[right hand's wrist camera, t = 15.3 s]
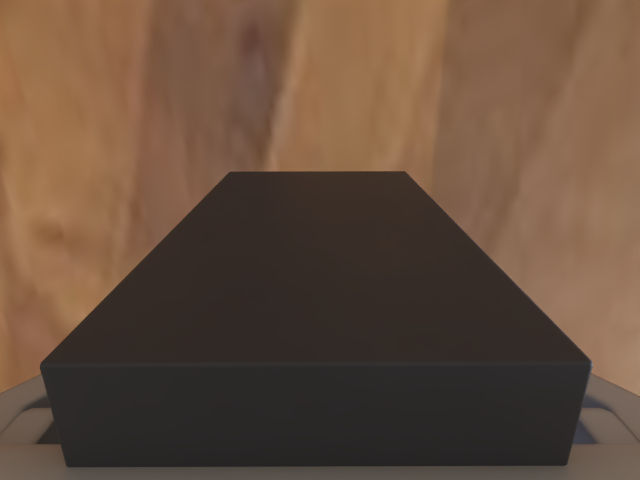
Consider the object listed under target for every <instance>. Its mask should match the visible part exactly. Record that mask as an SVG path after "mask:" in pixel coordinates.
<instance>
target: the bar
mask: <svg viewBox="0 0 640 480" xmlns="http://www.w3.org/2000/svg"><path fill="white" fill-rule="evenodd" d="M592 367H593V365H592V361H591V360H590V359H589V358H588V357H587V356H586V355H585V354H584V353H583V352H582V351H581V350H580V349H579V348H578V347H577V346H576V345H575V343H574V342H573V341H572V340H571V339H570V338H569V337H568V336H567V335H566V334H565V333H564V332H563V331H562V330H561V329H560V328H559V327H558V326H557V325H556V324H555V323H554V322H553V321H552V320H551V319H550V318H549V317H548V316H547V315H546V314H545V313H544V312H543V311H542V310H541V309H540V308H539V307H538V306H537V305H536V304H535V303H534V302H533V301H532V300H531V299H530V298H529V297H528V296H527V295H526V294H525V293H524V292H523V291H522V290H521V289H520V288H519V287H518V286H517V285H516V284H515V283H514V282H513V281H512V279H511V278H510V277H509V276H508V275H507V274H506V273H505V272H504V271H503V270H502V269H501V268H500V267H499V266H498V265H497V264H496V263H495V262H494V261H493V260H492V259H491V258H490V257H489V256H488V255H487V254H486V253H485V252H484V251H483V250H482V249H481V248H480V247H479V246H478V245H477V244H476V243H475V242H474V241H473V240H472V239H471V238H470V237H469V236H468V235H467V234H466V233H465V232H464V231H463V230H462V229H461V228H460V227H459V226H458V225H457V224H456V223H455V222H454V221H453V220H452V219H451V218H450V217H449V215H448V214H447V213H446V212H445V211H444V210H443V209H442V208H441V207H440V206H439V205H438V204H437V203H436V202H435V201H434V200H433V199H432V198H431V197H430V196H429V195H428V194H427V193H426V192H425V191H424V190H423V189H422V188H421V187H420V186H419V185H418V184H417V183H416V182H415V181H414V180H413V179H412V178H411V177H410V176H409V175H408V174H407V173H406V172H405V171H383V172H229V173H228V174H227V175H226V176H225V177H224V178H223V179H222V180H221V181H220V182H219V183H218V184H217V185H216V186H215V187H214V188H213V189H212V190H211V191H210V192H209V193H208V194H207V195H206V196H205V197H204V199H203V200H202V201H201V202H200V203H199V204H198V205H197V206H196V207H195V208H194V209H193V210H192V211H191V212H190V213H189V214H188V215H187V216H186V217H185V218H184V219H183V220H182V221H181V222H180V223H179V224H178V225H177V226H176V227H175V228H174V229H173V230H172V231H171V232H170V233H169V234H168V235H167V236H166V237H165V238H164V239H163V240H162V241H161V242H160V243H159V244H158V245H157V246H156V247H155V248H154V249H153V250H152V251H151V252H150V253H149V254H148V255H147V256H146V257H145V258H144V259H143V260H142V261H141V262H140V263H139V264H138V265H137V266H136V267H135V268H134V269H133V270H132V271H131V272H130V273H129V274H128V275H127V276H126V277H125V278H124V279H123V280H122V281H121V282H120V283H119V284H118V285H117V287H116V288H115V289H114V290H113V291H112V292H111V293H110V294H109V295H108V296H107V297H106V298H105V299H104V300H103V301H102V302H101V303H100V304H99V305H98V306H97V307H96V308H95V309H94V310H93V311H92V312H91V313H90V314H89V315H88V316H87V317H86V318H85V319H84V320H83V321H82V322H81V323H80V324H79V325H78V326H77V327H76V328H75V329H74V330H73V331H72V332H71V333H70V334H69V335H68V336H67V337H66V338H65V339H64V340H63V341H62V342H61V343H60V344H59V345H58V346H57V347H56V348H55V349H54V350H53V351H52V352H51V353H50V354H49V355H48V356H47V357H46V358H45V359H44V360H43V361H42V362H41V365H40V370H41V374H42V377H43V381H44V385H45V389H46V392H47V396H48V400H49V403H50V407H51V411H52V415H53V418H54V422H55V426H56V430H57V433H58V437H59V441H60V444H61V448H62V452H63V456H64V459H65V463H66V466H67V467H329V466H565V465H567V463H568V459H569V456H570V452H571V448H572V444H573V440H574V436H575V432H576V428H577V425H578V421H579V417H580V413H581V409H582V405H583V401H584V397H585V394H586V390H587V386H588V382H589V378H590V374H591V370H592Z"/></svg>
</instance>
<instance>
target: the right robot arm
mask: <svg viewBox="0 0 640 480" xmlns="http://www.w3.org/2000/svg"><path fill="white" fill-rule="evenodd" d="M0 480H640V396H638V395H636V394H634V393H632V392H629V391H627V390H625V389H623V388H621V387H619V386H617V385H615V384H613V383H611V382H609V381H606V380H604V379H602V378H600V377H598V376H596V375H594V374H592V373H591V374H590V378H589V382H588V386H587V390H586V394H585V397H584V401H583V405H582V409H581V413H580V417H579V421H578V425H577V428H576V432H575V436H574V440H573V444H572V448H571V452H570V456H569V459H568V463H567V465H565V466H329V467H67V466H66V463H65V459H64V456H63V452H62V448H61V444H60V441H59V437H58V433H57V430H56V426H55V422H54V418H53V415H52V411H51V407H50V403H49V400H48V396H47V392H46V389H45V385H44V381H43V377H42V374H40V375H38V376H36V377H34V378H32V379H30V380H28V381H26V382H23V383H21V384H19V385H17V386H15V387H13V388H11V389H9V390H6V391H4V392H2V393H0Z"/></svg>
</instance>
